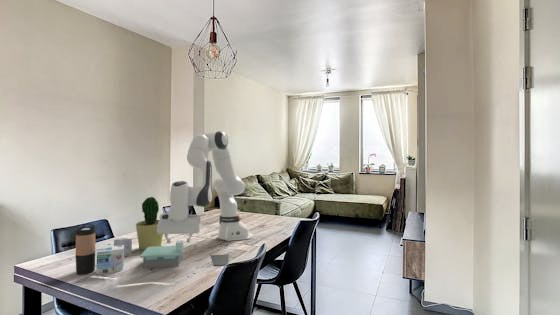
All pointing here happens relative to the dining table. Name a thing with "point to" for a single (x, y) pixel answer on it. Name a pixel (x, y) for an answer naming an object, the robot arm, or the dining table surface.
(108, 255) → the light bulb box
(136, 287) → the dining table surface
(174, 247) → the lid
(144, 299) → the dining table surface
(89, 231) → the travel mug
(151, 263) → the tub
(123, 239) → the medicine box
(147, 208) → the potted cactus
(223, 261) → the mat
